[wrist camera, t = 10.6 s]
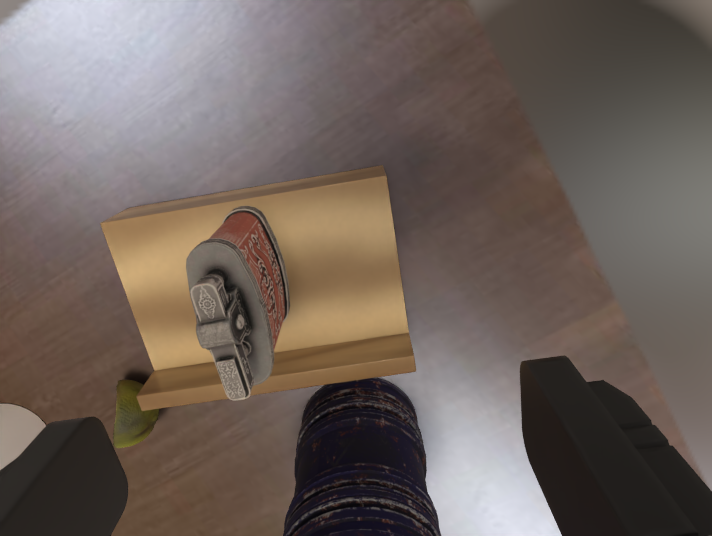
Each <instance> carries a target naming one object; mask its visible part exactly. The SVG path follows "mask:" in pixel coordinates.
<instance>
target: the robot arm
mask: <svg viewBox="0 0 712 536" xmlns="http://www.w3.org/2000/svg"><path fill="white" fill-rule="evenodd" d="M520 385H521V411H522V432H523V439H524V444H525V448H526V452H527V456H528V459H529V462H530V464H531V467H532V469H533V471H534V473H535V476H536V478H537V480H538V482H539V485H540V487H541V489H542V492H543V494H544V496H545V498H546V501H547V503H548V505H549V507H550V510H551V512H552V514H553V516H554V519H555V521H556V523H557V525H558V528H559V530H560V532H561V534H562V536H712V491H711V490H710V489H709V488H708V487H707V485H706V484H705V483H704V482H703V481H702V480H701V478H700V477H699V476H698V475H697V474H696V473H695V471H694V470H693V469H692V468H691V467H690V466H689V464H688V463H687V462H686V461H685V460H684V458H683V457H682V456H681V455H680V454H679V453H678V451H677V450H676V449H675V448H674V447H673V446H670V445H669V443H668V440H667V438H666V437H665V436H664V435H663V434H662V433H661V431H660V430H659V429H658V428H657V427H656V426H655V425H652V423H651V420H650V419H649V417H648V416H647V415H646V414H645V413H644V411H643V410H642V409H641V408H640V407H639V406H638V404H637V403H636V402H635V401H634V400H633V399H632V397H630V396H628V395H627V394H625V393H623V392H622V391H620V390H618V389H617V388H615V387H614V386H612V385H610V384H609V383H607V382H605V381H604V380H601V381H593V382H586V381H585V380H584V378H583V377H582V376H581V374H580V373H579V372H578V370H577V369H576V368H575V366H574V365H573V364H572V362H571V361H570V360H569V358H567V357H566V356H558V357H550V358H543V359H535V360H527V361H522V362H521V365H520ZM127 497H128V482H127V478H126V475H125V472H124V470H123V468H122V466H121V463H120V461H119V459H118V457H117V454H116V452H115V450H114V448H113V445H112V443H111V441H110V439H109V436H108V434H107V432H106V430H105V427H104V425H103V424H102V422H101V421H100V420H99V419H98V418H96V417H86V418H78V419H71V420H63V421H55V422H52V423H50V424H48V425H47V426H46V427H45V428H44V429H43V430H42V431H41V432H40V433H39V434H38V435H37V436H36V438H35V439H34V440H33V441H32V442H31V443H30V444H29V445H28V447H27V448H26V449H25V450H24V451H23V452H22V453H21V454H20V455H19V457H17V458H16V459H15V460H13V461H12V462H11V463H9V464H8V465H7V466H5V467H4V468H3V469H1V470H0V536H111V534H112V532H113V530H114V528H115V526H116V524H117V523H118V521H119V519H120V517H121V515H122V513H123V511H124V509H125V506H126V502H127Z"/></svg>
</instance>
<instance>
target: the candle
mask: <svg viewBox="0 0 712 536" xmlns="http://www.w3.org/2000/svg"><path fill="white" fill-rule="evenodd" d="M45 427H46V425H45V423H44V422H43V421H42V420H41V419H40V418H39V417H38V416H37V415H35V414H34V413H33V412H31V411H30V410H27V409H25V408H23V407H21V406H17V405H13V404H0V470H1V469H3V468H4V467H5V466H7V465H8V464H9V463H11V462H12V461H13V460H15V459H16V458H17V457H19V455H20V454H21V453H22V452H23V451H24V450H25V449H26V448H27V447H28V445H29V444H30V443H31V442H32V441H33V440H34V439H35V438H36V436H37V435H38V434H39V433H40V432H41V431H42V430H43V429H44V428H45Z"/></svg>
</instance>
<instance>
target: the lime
mask: <svg viewBox="0 0 712 536" xmlns="http://www.w3.org/2000/svg"><path fill="white" fill-rule="evenodd" d="M143 386H144V385H143V384H141V383H139V382H136V381H132V380H119V381H118V385H117V388H116V390H117V402H116V404H117V405H116V420H115V424H114V433H113V435H114V436H113V440H114V441H113V442H114V443H113V445H114V446H115V447H116V448H123V447H128V446H132V445H135V444H137V443H139V442H141V441H143V440H144V439H145V438H146V437H147V436H148V435H149V434H150V432H151V431H152V430H153V428H154V425H155V423H156V421H157V419H158V416H159V409H153V410H146V411H142V410H141V407H140V405H139V402H138V400H137V397H136V396H137V394H138V393H139V392H140V390H141V389H142V387H143Z"/></svg>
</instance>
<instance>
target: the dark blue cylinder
mask: <svg viewBox="0 0 712 536" xmlns="http://www.w3.org/2000/svg"><path fill="white" fill-rule="evenodd" d="M426 471H427V470H426V454H425V450H424V445H423V440H422V435H421V432H420V429H419V427H418V424H417V416H416V412H415V409H414V407H413V405H412V402H411V401H410V399H409V398H408V397H407V395H406V394H405V393H404V392H403V391H402V390H400V389H399V388H398V387H396V386H395V385H393V384H391V383H389V382H387V381H385V380H382V379H379V378H368V379H361V380H354V381H347V382H340V383H333V384H327V385H325V386H323V387H322V388H321V389H320V390H318V391H317V392H316V393H315V394H314V395H313V396H312V397H311V399H310V401H309V402H308V404H307V406H306V408H305V410H304V414H303V419H302V427H301V430H300V432H299V437H298V442H297V448H296V458H295V479H296V487H295V493H294V498H293V500H292V502H291V504H290V506H289V510H288V512H287V514H286V519H285V527H284V534H283V536H441V533H440V530H439V523H438V516H437V513H436V510H435V508H434V505H433V502H432V500H431V498H430V496H429V494H428V492H427V487H426V481H425V478H426Z"/></svg>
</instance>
